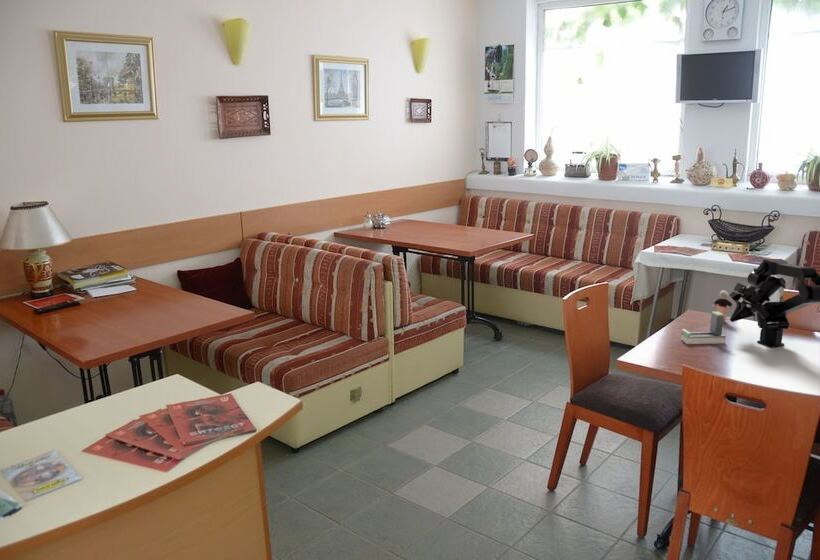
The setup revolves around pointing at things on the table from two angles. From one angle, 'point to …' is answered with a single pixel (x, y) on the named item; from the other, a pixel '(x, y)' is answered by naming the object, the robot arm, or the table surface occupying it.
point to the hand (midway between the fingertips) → (730, 320)
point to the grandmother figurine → (723, 304)
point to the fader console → (701, 337)
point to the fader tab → (716, 323)
